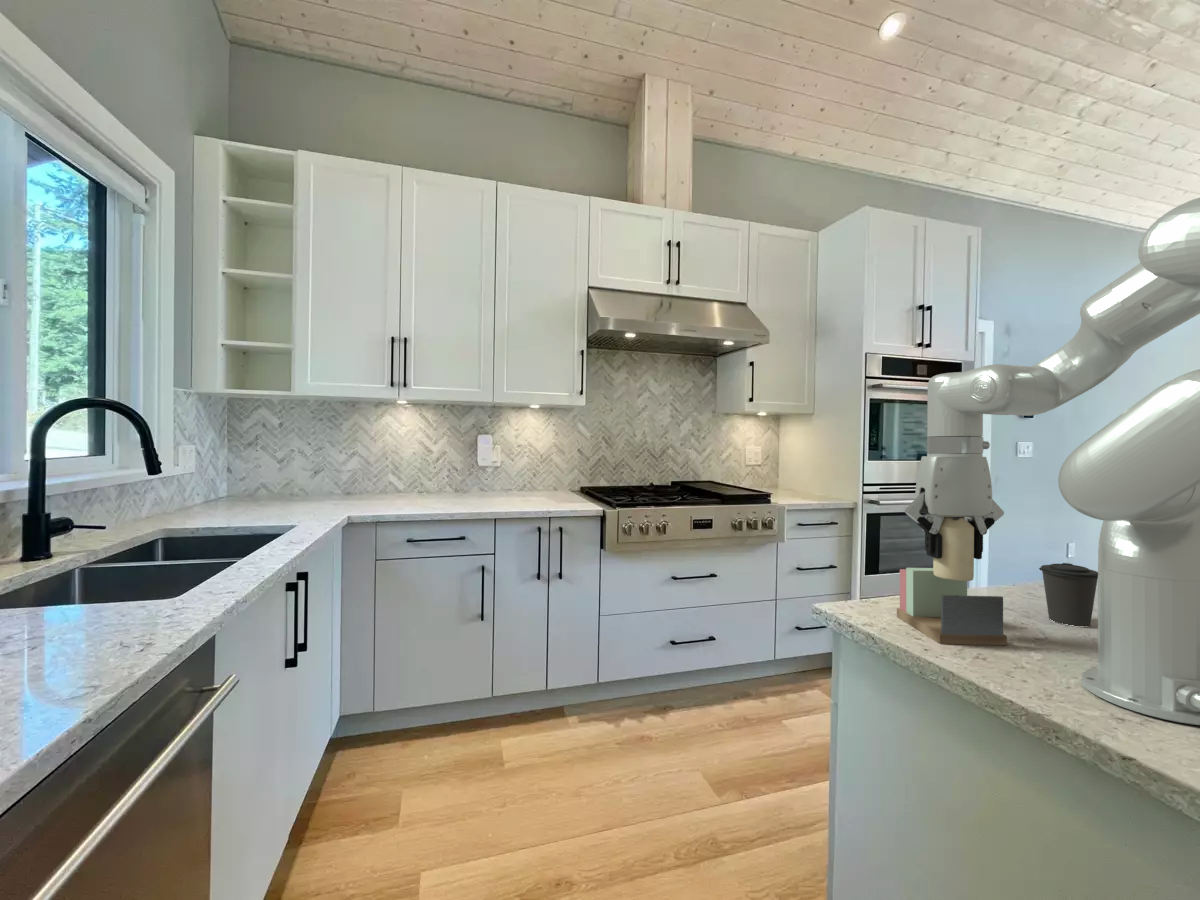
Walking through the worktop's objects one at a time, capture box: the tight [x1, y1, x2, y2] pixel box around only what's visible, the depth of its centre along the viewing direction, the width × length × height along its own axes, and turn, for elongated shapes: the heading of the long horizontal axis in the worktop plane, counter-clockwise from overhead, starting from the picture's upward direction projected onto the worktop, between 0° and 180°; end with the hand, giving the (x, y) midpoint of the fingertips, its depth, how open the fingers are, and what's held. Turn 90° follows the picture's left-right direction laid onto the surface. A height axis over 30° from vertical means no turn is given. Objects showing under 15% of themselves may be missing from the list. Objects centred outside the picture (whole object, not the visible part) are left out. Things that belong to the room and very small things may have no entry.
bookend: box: [941, 595, 1004, 636], centre depth 79 cm, size 1×9×6 cm, turn 87°
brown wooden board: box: [896, 607, 1008, 646], centre depth 85 cm, size 13×10×2 cm
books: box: [899, 567, 968, 617], centre depth 90 cm, size 4×9×8 cm, turn 86°
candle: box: [932, 517, 975, 582], centre depth 84 cm, size 6×6×10 cm
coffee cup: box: [1038, 562, 1098, 627], centre depth 89 cm, size 8×8×10 cm
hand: (953, 556), depth 84 cm, fingers closed on candle, 5 cm apart
